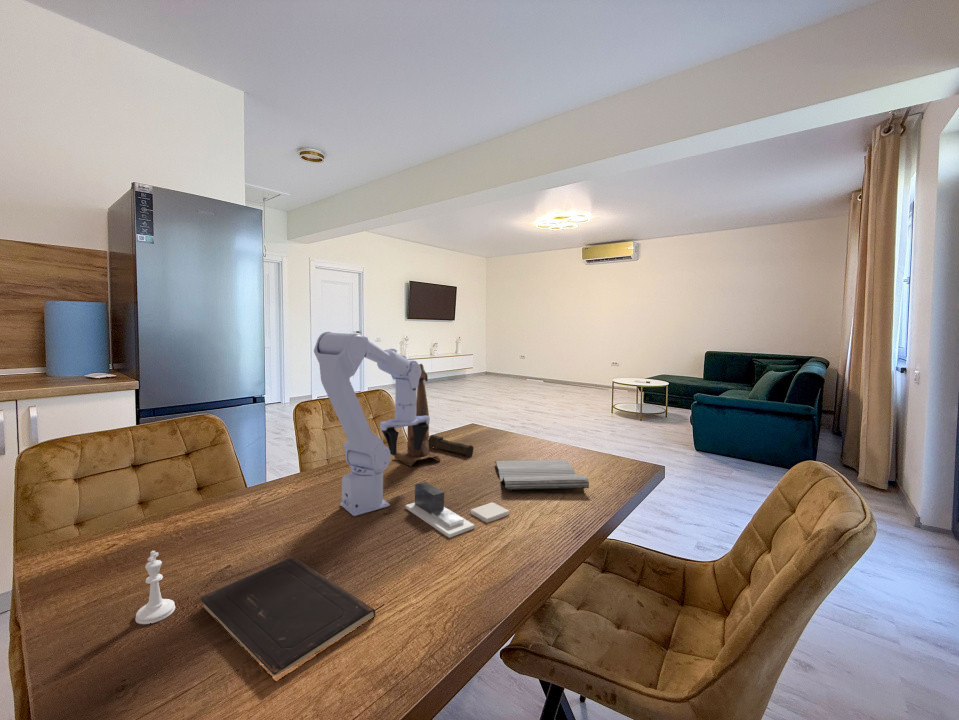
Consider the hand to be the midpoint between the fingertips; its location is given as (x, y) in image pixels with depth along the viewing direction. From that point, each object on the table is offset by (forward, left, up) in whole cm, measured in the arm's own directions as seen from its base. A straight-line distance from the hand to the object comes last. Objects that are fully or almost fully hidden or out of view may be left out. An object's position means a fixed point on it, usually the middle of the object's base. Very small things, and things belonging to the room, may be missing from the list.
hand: (405, 451), depth 119 cm
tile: (+7, -25, -9) cm, 27 cm away
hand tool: (+28, +18, -10) cm, 34 cm away
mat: (+34, -19, -10) cm, 40 cm away
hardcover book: (-41, -34, -10) cm, 55 cm away
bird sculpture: (+14, +16, -10) cm, 23 cm away
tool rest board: (-4, -22, -9) cm, 24 cm away
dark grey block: (-4, -21, -9) cm, 23 cm away
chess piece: (-57, -22, -10) cm, 62 cm away
